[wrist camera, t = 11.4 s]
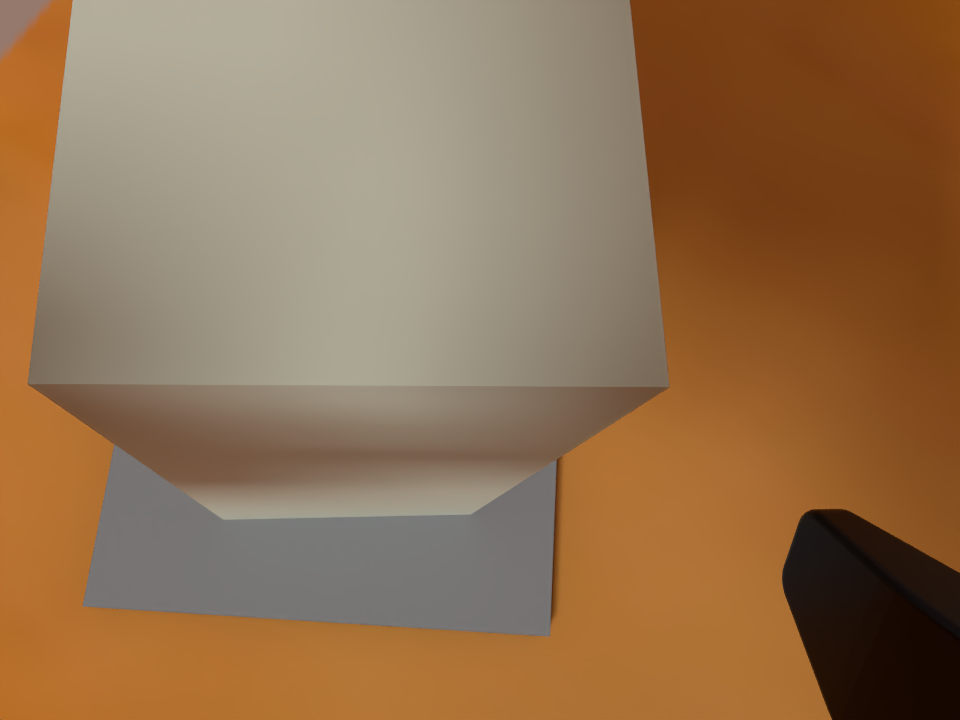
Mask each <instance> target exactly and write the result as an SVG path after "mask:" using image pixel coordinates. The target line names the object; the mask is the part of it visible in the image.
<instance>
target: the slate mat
mask: <svg viewBox="0 0 960 720" xmlns="http://www.w3.org/2000/svg"><path fill="white" fill-rule="evenodd" d="M556 465H557V460H555V461H553V462H552V463H550V464H549V465H547V466H546V467H544V468H543V469H541V470H539V471H538V472H536V473H535V474H533V475H532V476H530V477H528V478H527V479H525V480H524V481H522V482H521V483H519V484H518V485H516V486H514V487H513V488H511V489H510V490H508V491H507V492H505V493H504V494H502V495H500V496H499V497H497V498H496V499H494V500H493V501H491V502H489V503H488V504H486V505H485V506H483V507H482V508H480V509H479V510H477V511H475V512H474V513H472V514H469V515H422V516H375V517H329V518H282V519H235V520H223V519H221V518H220V517H219V516H217V515H216V514H214V513H213V512H211V511H210V510H208V509H207V508H206V507H204V506H203V505H201V504H200V503H198V502H197V501H196V500H194V499H193V498H191V497H190V496H188V495H187V494H185V493H184V492H183V491H181V490H180V489H178V488H177V487H175V486H174V485H172V484H171V483H170V482H168V481H167V480H165V479H164V478H162V477H161V476H160V475H158V474H157V473H155V472H154V471H152V470H151V469H149V468H148V467H147V466H145V465H144V464H142V463H141V462H139V461H138V460H137V459H135V458H134V457H132V456H131V455H129V454H128V453H126V452H125V451H124V450H122V449H121V448H119V447H118V446H116V445H115V444H114V449H113V454H112V460H111V465H110V470H109V475H108V480H107V485H106V490H105V495H104V500H103V505H102V510H101V516H100V521H99V526H98V531H97V536H96V541H95V546H94V551H93V556H92V561H91V566H90V571H89V577H88V582H87V587H86V592H85V597H84V602H83V606H84V607H100V608H116V609H131V610H147V611H162V612H178V613H194V614H209V615H225V616H240V617H256V618H271V619H287V620H303V621H318V622H334V623H349V624H365V625H381V626H396V627H412V628H427V629H443V630H459V631H474V632H490V633H505V634H521V635H536V636H550V622H551V596H552V570H553V544H554V518H555V491H556Z"/></svg>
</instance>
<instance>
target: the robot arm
mask: <svg viewBox="0 0 960 720" xmlns="http://www.w3.org/2000/svg"><path fill="white" fill-rule="evenodd" d="M782 583H783V589H784V593H785V596H786V599H787V602H788V604H789V607H790V610H791V612H792V615H793V618H794V620H795V623H796V626H797V628H798V631H799V634H800V636H801V639H802V642H803V644H804V647H805V650H806V653H807V655H808V658H809V661H810V663H811V666H812V669H813V671H814V674H815V677H816V679H817V682H818V685H819V687H820V690H821V693H822V695H823V698H824V701H825V704H826V706H827V709H828V711H829V713H830V716H831V718H832V720H960V573H959V572H957V571H955V570H953V569H952V568H950V567H948V566H946V565H945V564H943V563H941V562H939V561H937V560H936V559H934V558H932V557H930V556H929V555H927V554H925V553H923V552H921V551H920V550H918V549H916V548H914V547H912V546H911V545H909V544H907V543H905V542H904V541H902V540H900V539H898V538H896V537H895V536H893V535H891V534H889V533H888V532H886V531H884V530H882V529H880V528H879V527H877V526H875V525H873V524H871V523H870V522H868V521H866V520H864V519H863V518H861V517H859V516H857V515H855V514H854V513H852V512H850V511H848V510H844V509H813V510H810V511H807V512H806V513H805V514H804V515H803V516H802V517H801V519H800V521H799V523H798V526H797V529H796V532H795V535H794V538H793V541H792V544H791V547H790V550H789V553H788V556H787V559H786V562H785V564H784V568H783V574H782Z"/></svg>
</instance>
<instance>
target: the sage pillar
mask: <svg viewBox="0 0 960 720" xmlns="http://www.w3.org/2000/svg"><path fill="white" fill-rule="evenodd" d="M28 384H29V385H30V386H31V387H33V388H34V389H36V390H37V391H39V392H40V393H42V394H43V395H44V396H46V397H47V398H49V399H50V400H52V401H53V402H54V403H56V404H57V405H59V406H60V407H62V408H63V409H65V410H66V411H67V412H69V413H70V414H72V415H73V416H75V417H76V418H78V419H79V420H80V421H82V422H83V423H85V424H86V425H88V426H89V427H90V428H92V429H93V430H95V431H96V432H98V433H99V434H101V435H102V436H103V437H105V438H106V439H108V440H109V441H111V442H112V443H113V444H115V445H116V446H118V447H119V448H121V449H122V450H124V451H125V452H126V453H128V454H129V455H131V456H132V457H134V458H135V459H137V460H138V461H139V462H141V463H142V464H144V465H145V466H147V467H148V468H149V469H151V470H152V471H154V472H155V473H157V474H158V475H160V476H161V477H162V478H164V479H165V480H167V481H168V482H170V483H171V484H172V485H174V486H175V487H177V488H178V489H180V490H181V491H183V492H184V493H185V494H187V495H188V496H190V497H191V498H193V499H194V500H196V501H197V502H198V503H200V504H201V505H203V506H204V507H206V508H207V509H208V510H210V511H211V512H213V513H214V514H216V515H217V516H219V517H220V518H221V519H223V520H235V519H282V518H329V517H375V516H422V515H469V514H472V513H474V512H475V511H477V510H479V509H480V508H482V507H483V506H485V505H486V504H488V503H489V502H491V501H493V500H494V499H496V498H497V497H499V496H500V495H502V494H504V493H505V492H507V491H508V490H510V489H511V488H513V487H514V486H516V485H518V484H519V483H521V482H522V481H524V480H525V479H527V478H528V477H530V476H532V475H533V474H535V473H536V472H538V471H539V470H541V469H543V468H544V467H546V466H547V465H549V464H550V463H552V462H553V461H555V460H557V459H558V458H560V457H561V456H563V455H564V454H566V453H568V452H569V451H571V450H572V449H574V448H575V447H577V446H578V445H580V444H582V443H583V442H585V441H586V440H588V439H589V438H591V437H592V436H594V435H596V434H597V433H599V432H600V431H602V430H603V429H605V428H607V427H608V426H610V425H611V424H613V423H614V422H616V421H617V420H619V419H621V418H622V417H624V416H625V415H627V414H628V413H630V412H631V411H633V410H635V409H636V408H638V407H639V406H641V405H642V404H644V403H646V402H647V401H649V400H650V399H652V398H653V397H655V396H656V395H658V394H660V393H661V392H663V391H664V390H666V389H667V388H669V377H668V368H667V358H666V348H665V338H664V329H663V319H662V309H661V299H660V290H659V280H658V270H657V260H656V251H655V241H654V231H653V221H652V212H651V202H650V192H649V182H648V173H647V163H646V153H645V143H644V134H643V124H642V114H641V104H640V95H639V85H638V75H637V65H636V56H635V46H634V36H633V26H632V17H631V7H630V0H73V4H72V12H71V21H70V29H69V38H68V46H67V55H66V63H65V72H64V80H63V89H62V97H61V106H60V114H59V123H58V131H57V140H56V148H55V157H54V165H53V174H52V182H51V191H50V199H49V208H48V216H47V225H46V233H45V242H44V250H43V259H42V267H41V276H40V284H39V293H38V301H37V310H36V318H35V327H34V335H33V344H32V352H31V361H30V369H29V378H28Z"/></svg>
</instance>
